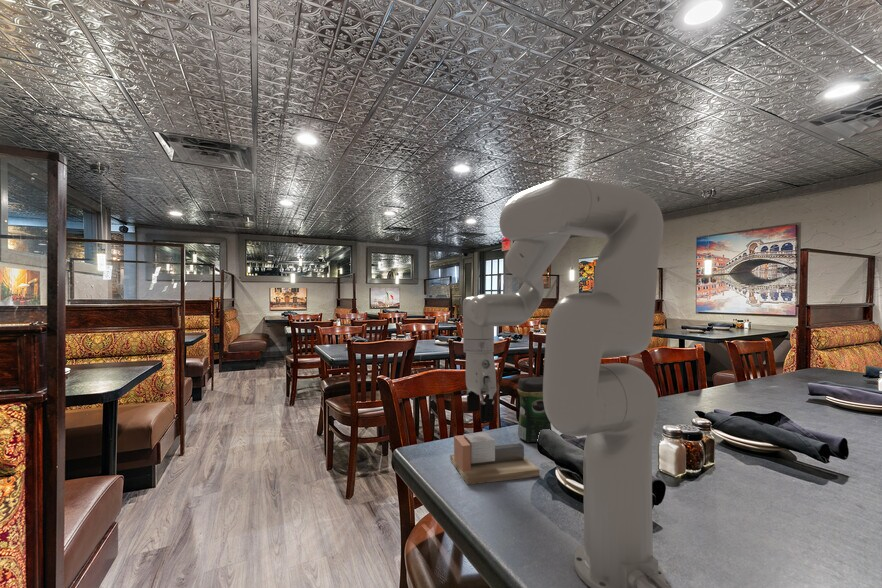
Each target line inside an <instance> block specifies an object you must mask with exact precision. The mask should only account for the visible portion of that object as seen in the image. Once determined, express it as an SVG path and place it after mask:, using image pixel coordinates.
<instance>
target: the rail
mask: <svg viewBox="0 0 882 588" xmlns="http://www.w3.org/2000/svg"><path fill="white" fill-rule="evenodd" d="M524 457H525V446H524V445H523V444H522V443H509V444H501V445H500V444H499V445H495V461H490V462H481V463H472V464H471V466H476V465H485V464H494V463H502V462H511V461H520V460H524Z"/></svg>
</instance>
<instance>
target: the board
mask: <svg viewBox="0 0 882 588" xmlns="http://www.w3.org/2000/svg"><path fill="white" fill-rule="evenodd" d="M449 458H450V460H451V461H452V462H451V461H450V462H451V464H452V463H453V464H454V465H453V464H452V465H453V467H454V468H455V467H456V468H457V469H456V468H455V469H456V471H457V470H458V471H459V472H458V471H457V472H458V473H460V474H461V475H460V474H459V475H460V476H461V478H462V477H463V478H462V479H463V480H465V481H464V482H465V484H466V483H467V484H466V485H467V486H470V485H469V484H471V485H477V484H476V483H479V484H485V482H487V483H493V482H501V481H508V480H517V479H524V478H534V477H540V468H538V467H537V466H536V465H535V464H534V463H532V462H531V461H530V460H529V459H528V458H526V456H524V460H520V461H511V462H502V463H494V464H485V465H476V466H471V471H465V472H463V471H462V470H461V469H460V467H459V466H458V465H457V463H456V462H455V460H454V454H450V456H449Z"/></svg>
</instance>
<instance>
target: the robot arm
mask: <svg viewBox="0 0 882 588" xmlns="http://www.w3.org/2000/svg"><path fill="white" fill-rule="evenodd" d="M664 228H665V227H664V217H663V213H662V210H661V208H660V206H659V204H658V203H657V202H656V201H655V200H654V199H653V198H652V197H651V196H650V195H648V194H646V193H645V192H643V191H640V190H638V189H636V188H635V189H634V188H632V187H628V186H623V185H619V184H614V183H608V182H602V181H595V180H590V179H583V178H578V177H569V176H564V177H557V178H553V179H550V180H547V181H545V182H543V183H540V184H537V185H534V186H532V187H530V188H527V189H525V190H522V191H520V192H518V193H516V194H515V195H513V196H512V197H510V199H509V200H507V202H506V203H505V205H504V206H503V208H502V211H501V212H500V216H499V229H500V232H501V234H502V235H503V236H504V238H505V239H507V240H510V241H513V243H512V245H511V246H510V247H509V249H508V250H507V252H506V254H505V256H504V264H505V266H506V269H507V270H508V272H509V273H510V274H511V275H512V276H514V277H515V278H516V279H517V280H519V281H520V282H523V283H522V285H521V286H520V288H519V289H518V291H517V292H516V293H483V294H482V293H481V294H479V295H476V296H475V295H474V296H473V295H472V296H467V297H465V298H464V299H463V300H462V329H463V330H462V331H463V332H462V334H463V336H462V337H463V338H462V339H463V340H462V342H463V348H462V349H463V353H465V387H466V411H467V412H469V413H470V412H479V415H480V416H479V417H480V418H479V420H480V422H481V423H487V422H494V421H495V409H494V408H495V407H494V405H495V394H497V390H498V389H497V377H496V376H497V373H496V365H495V364H496V363H495V357H494V352H495V349H494V347H495V343H494V341H495V340H494V336H495V335H494V327H505V326H506V327H510V326H514V327H515V326H521V325H523V324H524V323H527V322H528V321H529V319H530V318H531V317H532V316H533V315H534V314H535V312H536V311H537V310H538V308H539V307H540V305H542V304H541V303H542V302H543V296H544V289H545V286H544V279H543V275H544V274H545V272H546V271H547V270H548V268H549V267H550V265H551V264H552V262H553V261H554V259H556V257H557V255H558V254H559V253H560V251H561V250H562V249H563V247H564V246H565V245H566V243H567V242H568V240H569V239H570V237H571V236H577V237H578V236H579V237H580V236H581V237H592V238H593V237H594V238H603V239H606V240H607V242H606V243H605V245H603V247H602V249H601V251H600V252H599V254H598V256H597V259H596V262H595V266H594V276H593V277H594V280H593V288H592V292H578V293H573V294H569V295H567V296H565V297H563V298H561V299H560V300H559V301H558V302H557V303H556V304H555V305H554V307H553V309H552V310H551V312H550V315H549V316H548V321H547V326H546V331H545V332H546V333H545V346H544V347H545V348H544V361H543V362H544V363H543V364H544V365H543V376H542V377H543V403H544V408H545V412H546V415H547V417H548V419H549V421H550V423H551V426H552V427H553V428H554V429H555V430H556V431H557V432H559V433H561V434H564V435H566V436H569V437H582V436H583V437H584V436H586V438H585V441H584V445H583V457H582V458H583V459H582V460H583V461H582V462H583V465H582V466H583V467H582V468H583V469H582V472H583V473H582V474H583V475H582V476H583V481H582V482H583V484H582V485H583V543H582V544H581V545H579V546H578V547H577V548H576V549H575V551H574V554H573V567H574V570H575V571H576V574H577V575H578V576H579V578H580V579H581V580H582V581H583V583H585V585H587V586H588V587H589V588H672V585H670V584H668V583H667V580H666V576H665V573H664V571H663V570H662V568H661V567H660V566H659V560H658V559H657V558H655V557H654V542H653V541H654V539H653V538H654V537H653V536H654V534H653V532H654V531H653V525H654V524H653V442H654V432H655V428H656V424H657V423H656V421H657V417H658V412H659V397H658V396H659V395H658V390H657V388H656V385H655V383H654V381H653V380H652V378H651V377H650V376H649V375H648V373H646V372H645V371H644V370H643V369H641V368H639V367H637V366H635V365H632V364H629V363H621V362H619V363H618V362H611V363H602V359H603V360H604V359H610V358H611V359H612V358H622V357H629V356H635V355H638V354H640V353H642V352H644V351H645V350H646V349H647V348H648V347H649V346H650V343H651V341H652V337H653V332H654V321H655V311H656V310H655V309H656V297H657V287H658V286H657V284H658V268H659V261H660V259H659V258H660V253H661V247H662V243H663V237H664Z"/></svg>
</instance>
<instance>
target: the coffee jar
mask: <svg viewBox="0 0 882 588" xmlns="http://www.w3.org/2000/svg"><path fill="white" fill-rule="evenodd" d="M543 377H544V376H533V377H532V376H530V377H520V378H519V379H518V382H517V384H518V385H517V393H518V395H519V404H520V405H519V418H518V431H517V435H518V438H519V439H520V438H521V439H522V441H523V440H524V441H523V442H526V441H527V442H526V443H529V442H536V443H538V442H537V439H538V435H539V432H540V430H542V429H550V430H551V431H552V424H551V423H550V421H549V419H548V417H547V415H546V412H545V408H544V403H543ZM521 439H520V440H521Z"/></svg>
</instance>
